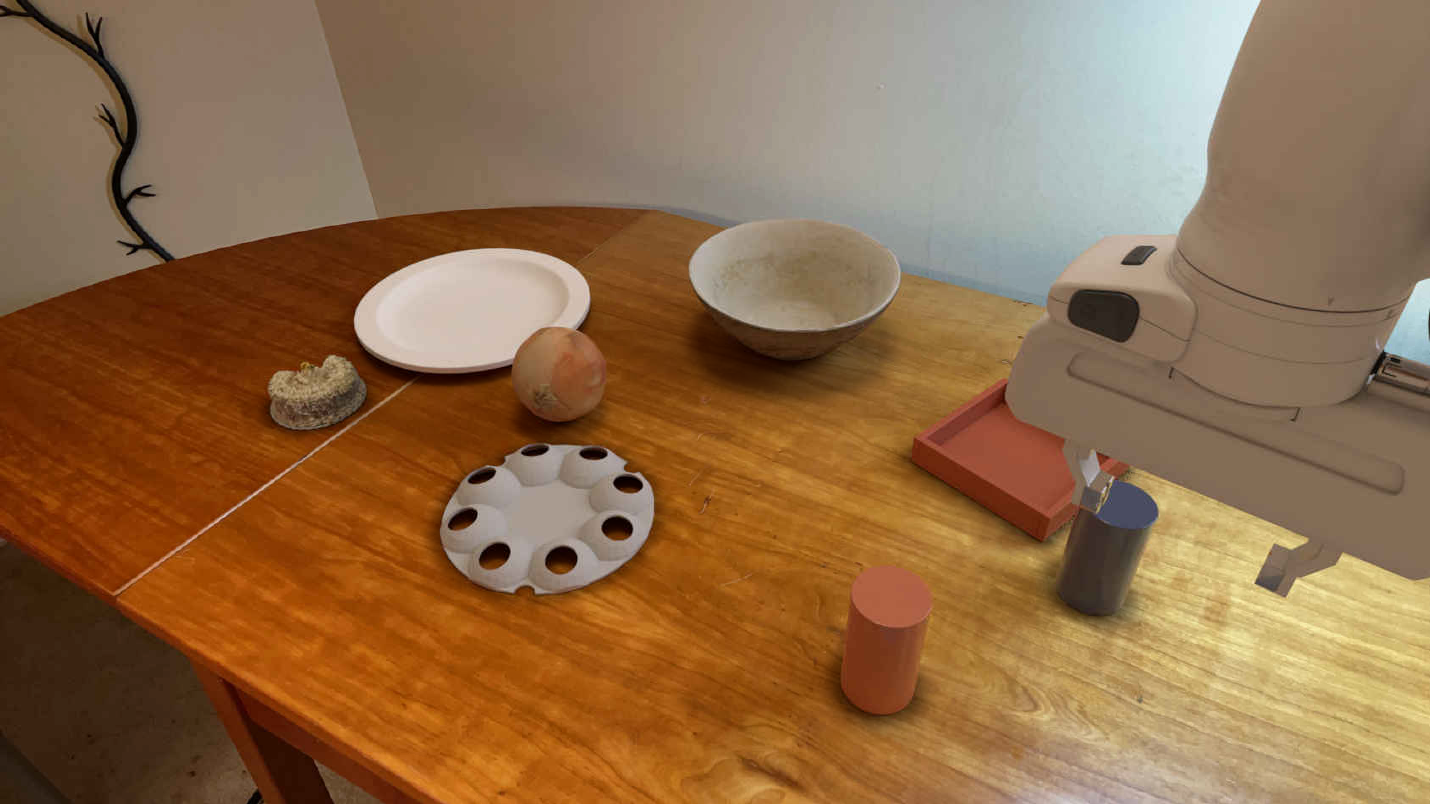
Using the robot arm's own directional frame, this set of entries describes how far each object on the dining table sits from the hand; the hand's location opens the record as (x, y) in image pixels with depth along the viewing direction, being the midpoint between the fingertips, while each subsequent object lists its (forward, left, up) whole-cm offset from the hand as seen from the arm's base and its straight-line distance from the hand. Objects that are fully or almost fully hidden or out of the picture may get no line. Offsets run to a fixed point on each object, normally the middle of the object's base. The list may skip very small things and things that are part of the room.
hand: (1175, 541), depth 48 cm
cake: (+63, +51, -24) cm, 84 cm away
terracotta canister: (+12, +9, -24) cm, 28 cm away
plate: (+75, +33, -24) cm, 85 cm away
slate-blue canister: (+15, -12, -24) cm, 31 cm away
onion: (+53, +26, -24) cm, 64 cm away
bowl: (+59, -2, -24) cm, 64 cm away
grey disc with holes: (+38, +30, -24) cm, 54 cm away
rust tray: (+31, -15, -24) cm, 42 cm away
